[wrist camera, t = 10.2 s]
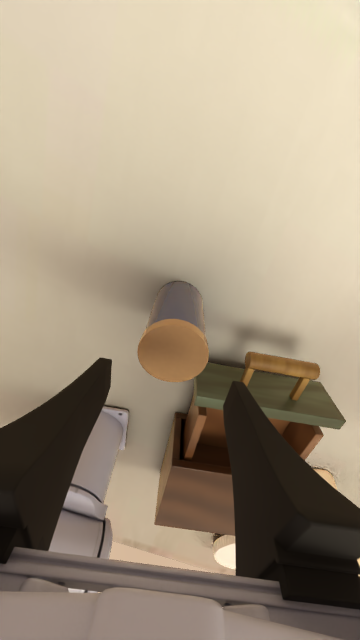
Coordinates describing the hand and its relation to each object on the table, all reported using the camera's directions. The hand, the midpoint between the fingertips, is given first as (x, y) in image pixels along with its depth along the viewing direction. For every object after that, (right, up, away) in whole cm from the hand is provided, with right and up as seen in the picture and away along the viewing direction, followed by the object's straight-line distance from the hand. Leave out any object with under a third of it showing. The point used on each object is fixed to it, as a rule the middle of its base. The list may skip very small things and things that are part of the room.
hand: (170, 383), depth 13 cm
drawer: (+8, -5, +13) cm, 17 cm away
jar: (0, +5, +9) cm, 10 cm away
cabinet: (+6, -15, +20) cm, 26 cm away
